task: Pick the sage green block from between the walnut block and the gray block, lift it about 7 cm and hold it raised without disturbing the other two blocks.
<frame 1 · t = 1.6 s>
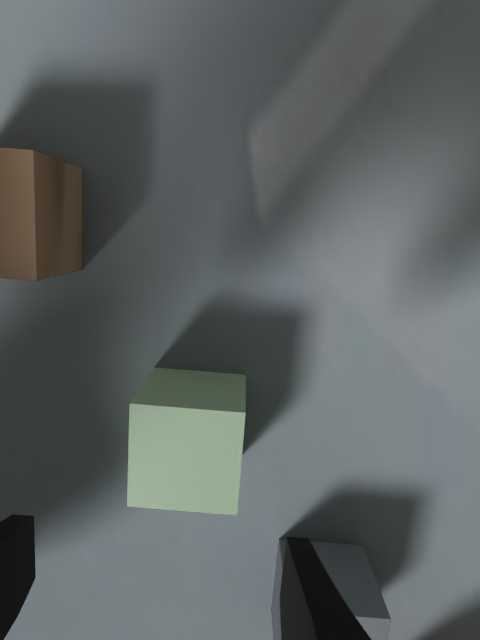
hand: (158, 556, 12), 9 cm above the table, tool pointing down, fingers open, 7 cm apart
gray block: (316, 576, 23), on the table
walnut block: (33, 216, 19), on the table
sage green block: (197, 413, 21), on the table
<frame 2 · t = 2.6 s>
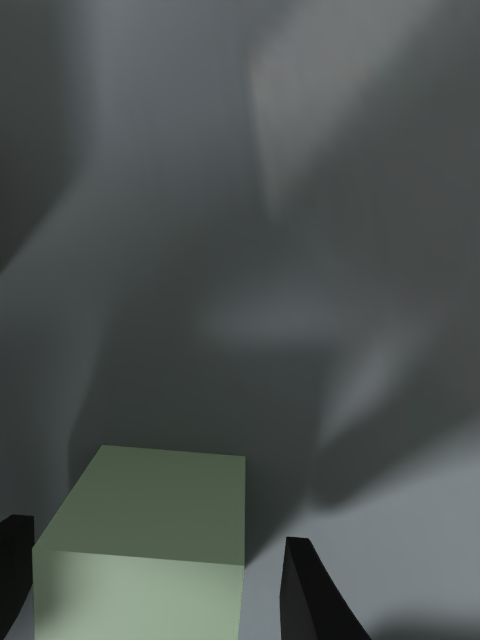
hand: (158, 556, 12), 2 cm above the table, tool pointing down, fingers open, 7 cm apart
sage green block: (170, 512, 14), on the table
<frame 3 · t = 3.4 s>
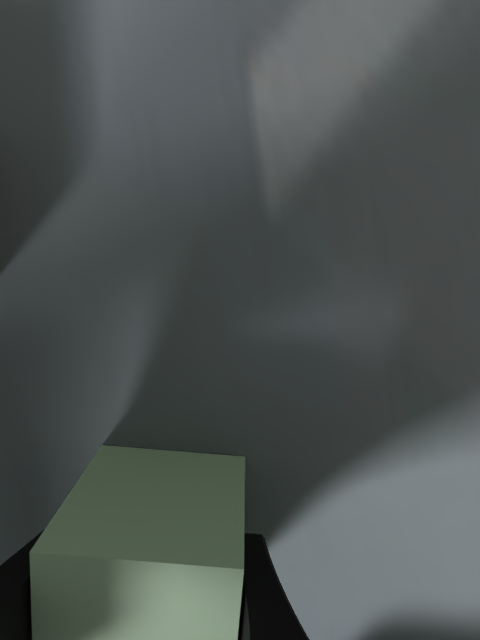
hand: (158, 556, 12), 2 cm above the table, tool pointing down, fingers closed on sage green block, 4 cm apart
sage green block: (170, 514, 14), on the table, touching gripper
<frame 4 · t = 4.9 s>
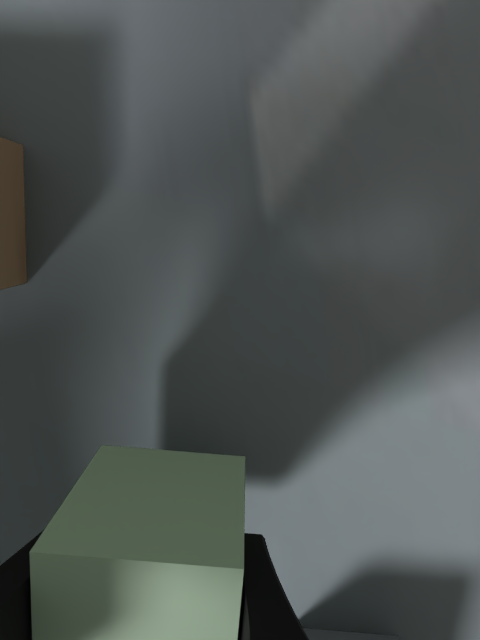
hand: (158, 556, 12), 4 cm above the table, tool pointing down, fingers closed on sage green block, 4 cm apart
sage green block: (170, 513, 14), point 2 cm above the table, touching gripper
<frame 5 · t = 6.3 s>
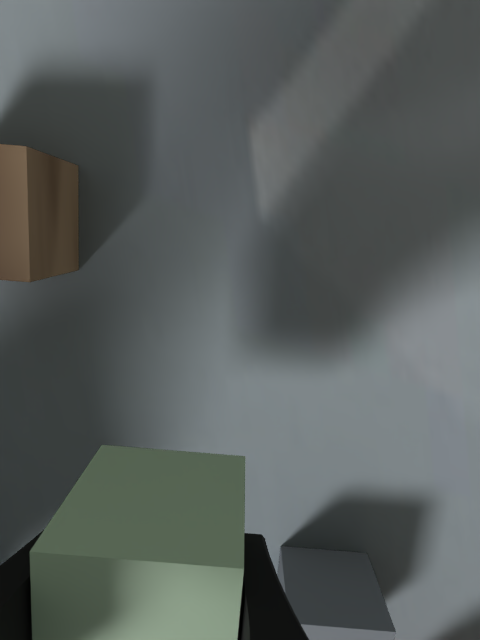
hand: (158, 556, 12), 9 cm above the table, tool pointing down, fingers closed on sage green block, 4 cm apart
gray block: (318, 584, 23), on the table
walnut block: (28, 215, 19), on the table
sage green block: (170, 513, 14), point 7 cm above the table, touching gripper
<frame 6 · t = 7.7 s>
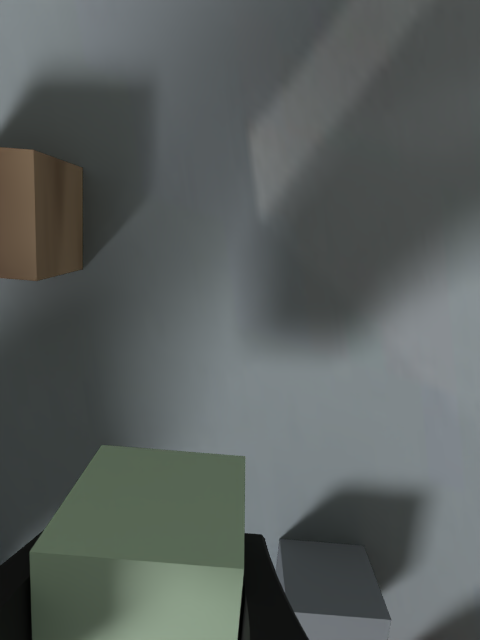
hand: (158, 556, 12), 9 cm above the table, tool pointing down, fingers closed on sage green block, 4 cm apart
gray block: (316, 576, 23), on the table
walnut block: (34, 215, 19), on the table
sage green block: (170, 513, 14), point 8 cm above the table, touching gripper
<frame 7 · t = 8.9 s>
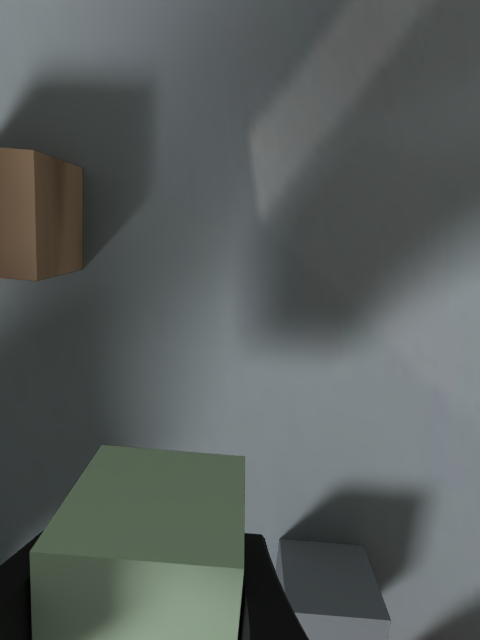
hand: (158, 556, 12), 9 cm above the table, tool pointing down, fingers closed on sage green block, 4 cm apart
gray block: (316, 576, 23), on the table
walnut block: (34, 215, 19), on the table
sage green block: (170, 513, 14), point 8 cm above the table, touching gripper
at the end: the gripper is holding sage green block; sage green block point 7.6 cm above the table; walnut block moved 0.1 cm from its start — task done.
